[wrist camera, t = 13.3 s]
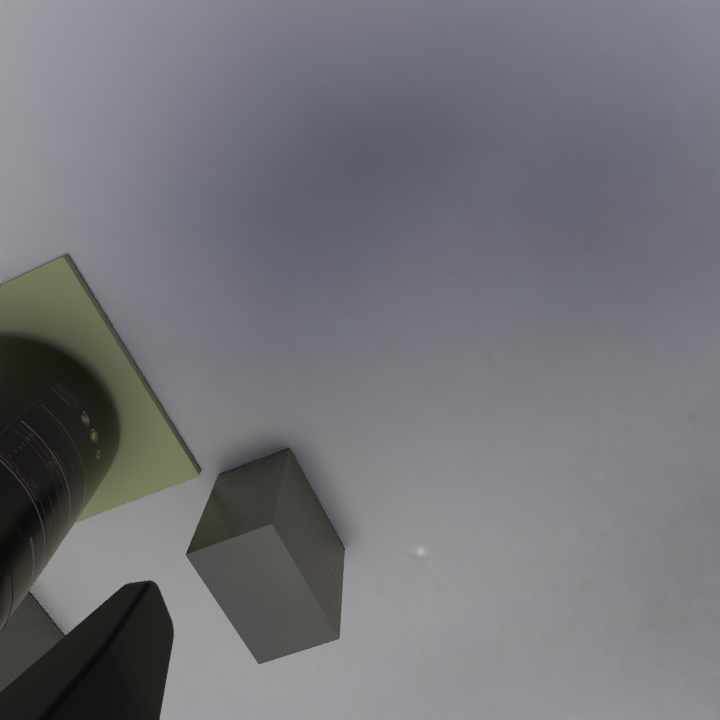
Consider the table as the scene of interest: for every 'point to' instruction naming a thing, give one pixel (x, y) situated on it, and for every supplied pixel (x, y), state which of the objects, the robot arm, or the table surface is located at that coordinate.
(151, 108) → the table surface
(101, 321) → the mat
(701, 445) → the table surface
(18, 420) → the supplement bottle
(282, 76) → the table surface
